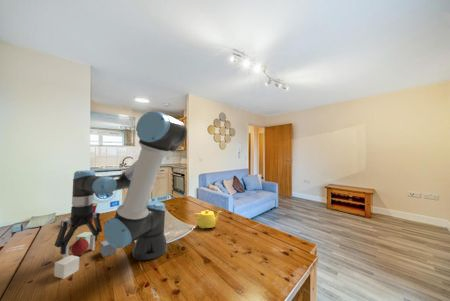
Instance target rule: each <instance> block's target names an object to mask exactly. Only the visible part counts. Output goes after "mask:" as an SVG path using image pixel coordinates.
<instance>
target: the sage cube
mask: <svg viewBox="0 0 450 301" xmlns="http://www.w3.org/2000/svg"><path fill="white" fill-rule="evenodd" d="M90 235H93V234H92V232H91V231H84V232H81V233H80V234H77V235H76V236H75V242H76V241H77V240H78V239H79V238H80V237H83V239H85V240H87V241H88V243H89V245H90ZM75 242H74V243H75Z"/></svg>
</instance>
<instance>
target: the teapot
mask: <svg viewBox="0 0 450 301" xmlns="http://www.w3.org/2000/svg"><path fill="white" fill-rule="evenodd" d="M221 212H222V210H220V211H218V212H217V213H216V215H215V214H214V211H213V210H209V209H205V210H201V211H200V212H199V213H198V212H196V213H194V218H195V219H196V221H197V225H198V227H199V228H200V229H201V228H204V229H209V228H212V229H213V228H214V227H215V225H216V223H217V222H218V221H219V218H220V217H219V216H220V213H221ZM198 216H199V217H198Z"/></svg>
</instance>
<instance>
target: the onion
mask: <svg viewBox="0 0 450 301" xmlns="http://www.w3.org/2000/svg"><path fill="white" fill-rule="evenodd" d="M89 246H90V244H89V243H88V241H87V240H85V239H83V237H80V238H79V239H78V240H77V241H76V242H74V243H73V244H72V245H71V250H70V251H71V253H72V254H73V256H81V255H82V254H84V253H86V251H87V250H88V248H89Z"/></svg>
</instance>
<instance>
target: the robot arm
mask: <svg viewBox="0 0 450 301" xmlns="http://www.w3.org/2000/svg"><path fill="white" fill-rule="evenodd" d="M135 128H136V129H135V132H137V133H136V135H137V137H138V138H139V141H138V144H139V146H140V148H141V150H140V152H139V155H138V158H137V160H135V161H134V162H133V163H132V164H131V165H130V166H129V167H128V168H127V169H126V170H125V171H123V172H122V173H121V174H113V175H112V174H111V175H96V171H95V170H92V169H91V170H85V169H84V170H76V171H74V174H73V179H72V193H71V194H72V198H71V205H72V206H71V211H70V217H69V219H67V220H61V222H60V229H59V231H58V234H57V237H56V240H55V243H54V247H56V248H60V250H59V252H60V255H62V258H61V259H63V258H65V257H67V256H69V251H70V245H69V242H70V240H71V239H72V237H73V235H74V234H75V232H76V230H77V229H78V228H79V227H82V226H85V225H86V227H87V228H88V229H89V232H92V234H93V235H90V244H89V250H91V251H95V249H96V248H95V247H96V242H97V241H98V236H99V235H100V233H102V232H103V234H104V237H105V241H106V240H107V242H108V243H109V244H110V245H111V246H112V247H114V248H116V249H123V248H124V247H127V246H129V245H131V244H132V243H133V242H135V244H134V246H133V248H132V257H133V259H135V260H138V261H151V260H155V259H157V258H159V257H161V256H163V255H164V254H165V253H166V252H167V250H168V242H167V243H166V241H167V237H166V235H165V221H166V219H165V217H166V204H165V203H164V202H162V201H150V198H151V195H152V192H153V189H154V186H155V182H156V180H157V177H158V174H159V172H160V169H161V168H160V167H161V165H162V163H163V159H164V158H165V157H166V156H168V155H169V154H170V153H171V152H173V153H174V152H175V151H177V150H178V149H179V148H180V147H181V146H182V145H183V144H184V142H185V141H186V140H187V137H188V129H187V127H186V125H185V123H184V122H183V121H181V120H180V119H177V118H174V117H173V116H170V115H168V114H165V113H164V112H160V111H155V110H154V111H153V110H152V111H151V110H150V111H148V112H146V113H144V114H143V115H141V116H140V118H138V121H137V123H136V127H135ZM125 189H127V192H126V195H125V198H124V200H123V201H124V202H123V203H122V204H121V205H118V207H117V209H116V211H115V215H114V217H111V218H109V219H107V220H106V221H105V223H104V226H103V229H102V224H101V221H100V220H101V219H100V215H101V214H100V212H97V211H95V213H92V211H93V204H92V203H94V196H95V194H97V195H101V196H103V195H110V194H112V193H113V192H116V191H121V190H125ZM92 217H94V218H93V221H94V224H93V221H92V222H91V221H90V219H91V218H92ZM70 223H71V224H70ZM69 225H70V226H69ZM68 226H69V229H68Z"/></svg>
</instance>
